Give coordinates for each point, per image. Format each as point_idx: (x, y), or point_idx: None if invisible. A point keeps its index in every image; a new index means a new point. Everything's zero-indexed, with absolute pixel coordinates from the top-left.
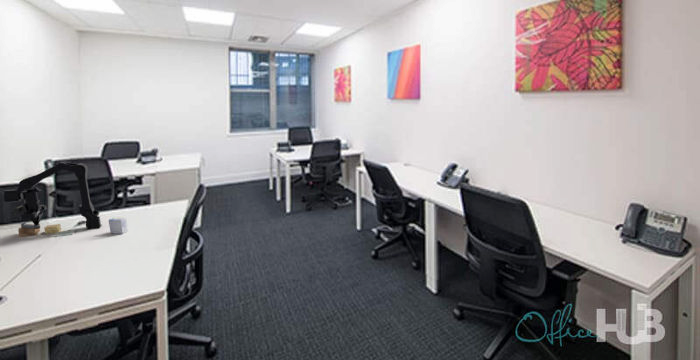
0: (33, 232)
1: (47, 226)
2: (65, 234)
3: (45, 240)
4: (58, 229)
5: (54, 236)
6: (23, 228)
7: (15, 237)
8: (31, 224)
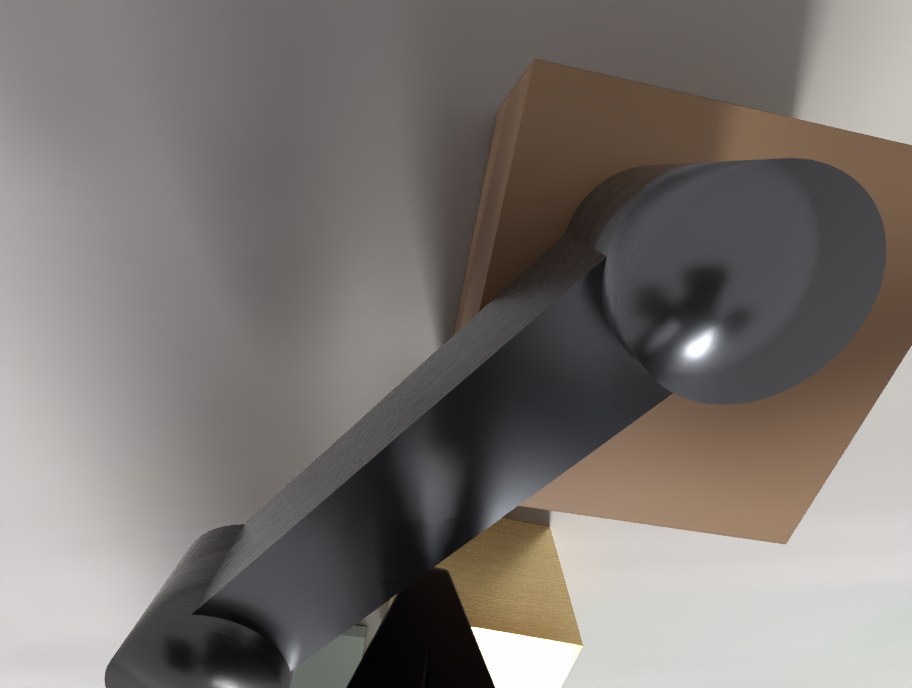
0: None
1: None
2: None
3: (24, 529)
4: None
5: None
6: (543, 236)
7: (516, 14)
8: (456, 543)
